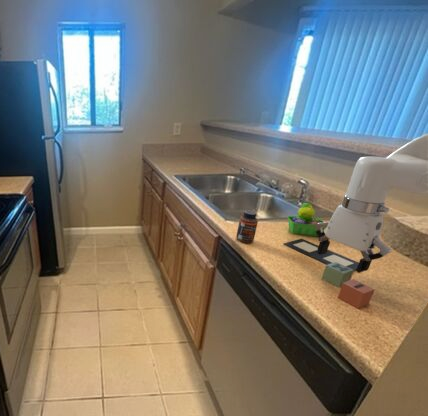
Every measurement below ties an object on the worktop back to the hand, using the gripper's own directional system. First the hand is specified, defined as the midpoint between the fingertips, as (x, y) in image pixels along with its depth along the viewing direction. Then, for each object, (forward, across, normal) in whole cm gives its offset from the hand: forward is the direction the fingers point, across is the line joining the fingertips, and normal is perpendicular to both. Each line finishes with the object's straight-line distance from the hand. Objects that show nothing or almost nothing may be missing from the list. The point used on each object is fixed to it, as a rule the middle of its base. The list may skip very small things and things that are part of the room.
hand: (339, 261), depth 77 cm
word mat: (+6, +11, -12) cm, 17 cm away
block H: (+6, 0, 0) cm, 6 cm away
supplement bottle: (+7, +29, +3) cm, 30 cm away
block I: (+6, -7, +5) cm, 11 cm away
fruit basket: (+6, +25, -24) cm, 35 cm away
